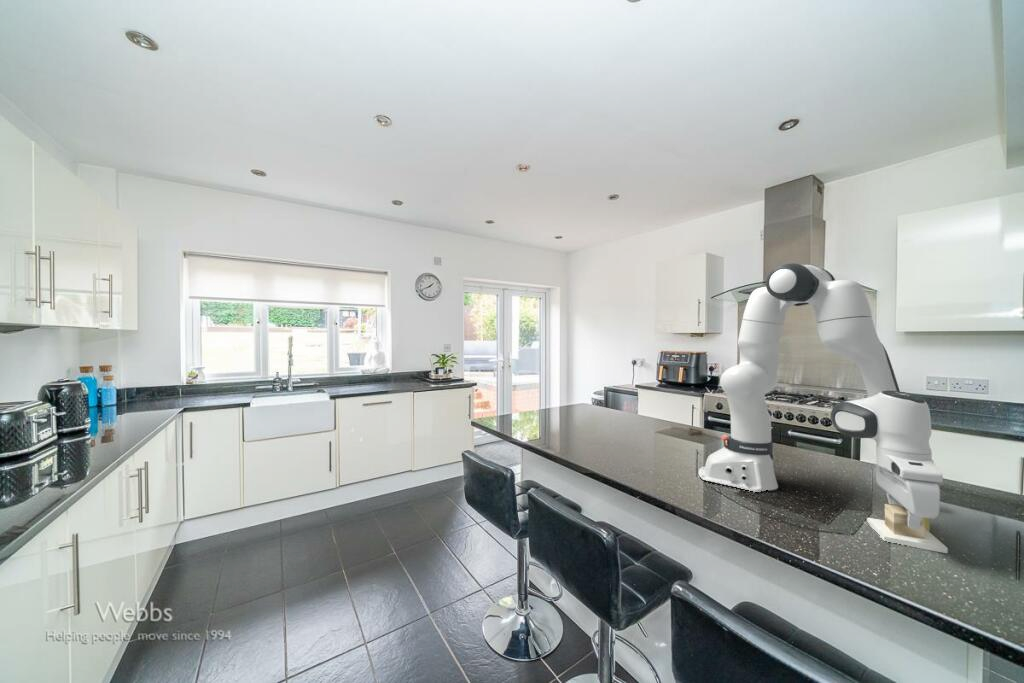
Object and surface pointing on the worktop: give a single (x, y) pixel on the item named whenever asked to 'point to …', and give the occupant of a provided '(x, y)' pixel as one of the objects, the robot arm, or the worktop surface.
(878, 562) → the worktop surface
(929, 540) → the plate
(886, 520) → the beech brick
